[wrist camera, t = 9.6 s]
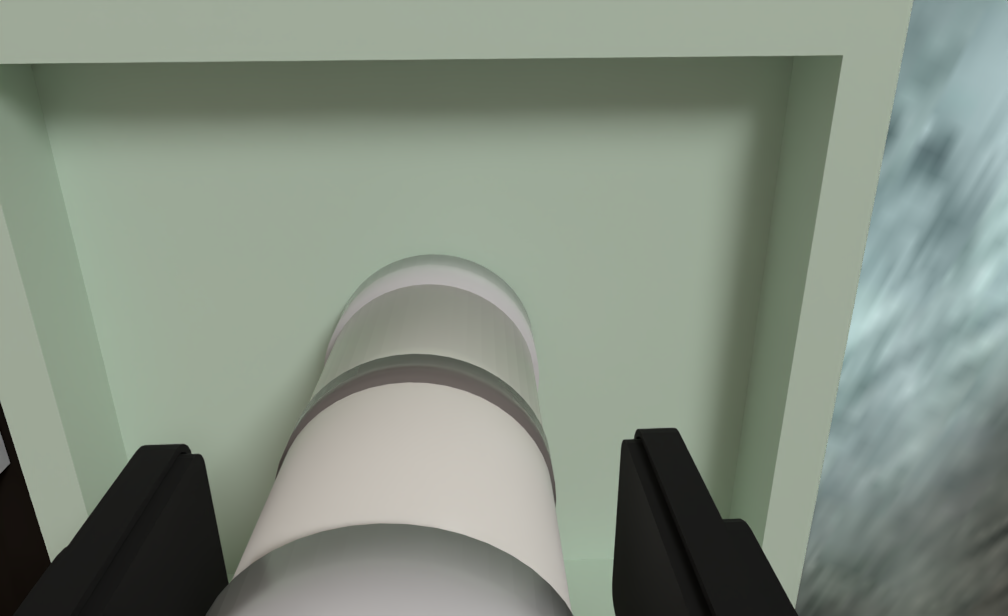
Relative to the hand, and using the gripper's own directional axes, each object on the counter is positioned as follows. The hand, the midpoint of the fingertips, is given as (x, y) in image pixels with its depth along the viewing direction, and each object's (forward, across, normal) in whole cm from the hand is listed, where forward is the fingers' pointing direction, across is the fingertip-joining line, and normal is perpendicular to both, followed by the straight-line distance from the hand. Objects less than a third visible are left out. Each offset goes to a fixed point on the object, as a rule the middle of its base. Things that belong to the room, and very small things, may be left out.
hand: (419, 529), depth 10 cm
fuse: (+6, 0, 0) cm, 6 cm away
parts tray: (+7, 0, 0) cm, 7 cm away
